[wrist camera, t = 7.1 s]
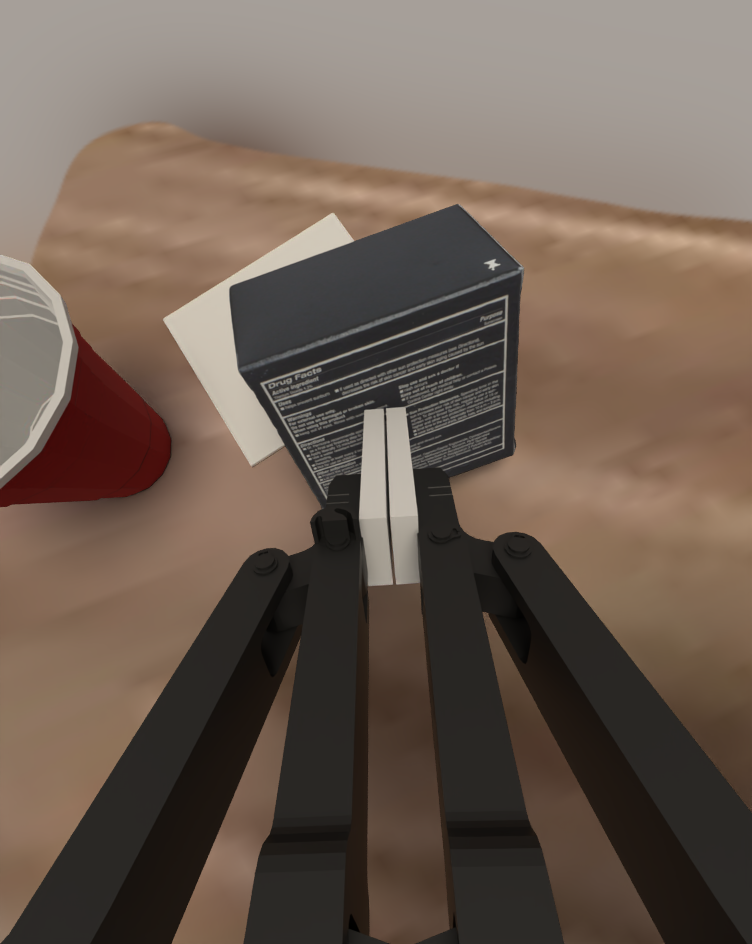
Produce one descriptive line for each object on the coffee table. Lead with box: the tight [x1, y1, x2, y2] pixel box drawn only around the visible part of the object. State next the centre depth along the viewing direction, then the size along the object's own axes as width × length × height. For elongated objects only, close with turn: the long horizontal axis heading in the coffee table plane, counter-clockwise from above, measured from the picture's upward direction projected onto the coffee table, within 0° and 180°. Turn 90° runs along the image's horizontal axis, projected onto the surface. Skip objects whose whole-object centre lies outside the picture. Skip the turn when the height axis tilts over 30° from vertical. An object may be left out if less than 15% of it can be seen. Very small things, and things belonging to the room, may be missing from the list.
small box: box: [229, 204, 524, 509], centre depth 21 cm, size 11×6×10 cm, turn 109°
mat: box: [163, 213, 354, 467], centre depth 28 cm, size 12×13×1 cm
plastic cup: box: [0, 255, 171, 507], centre depth 22 cm, size 11×11×12 cm
